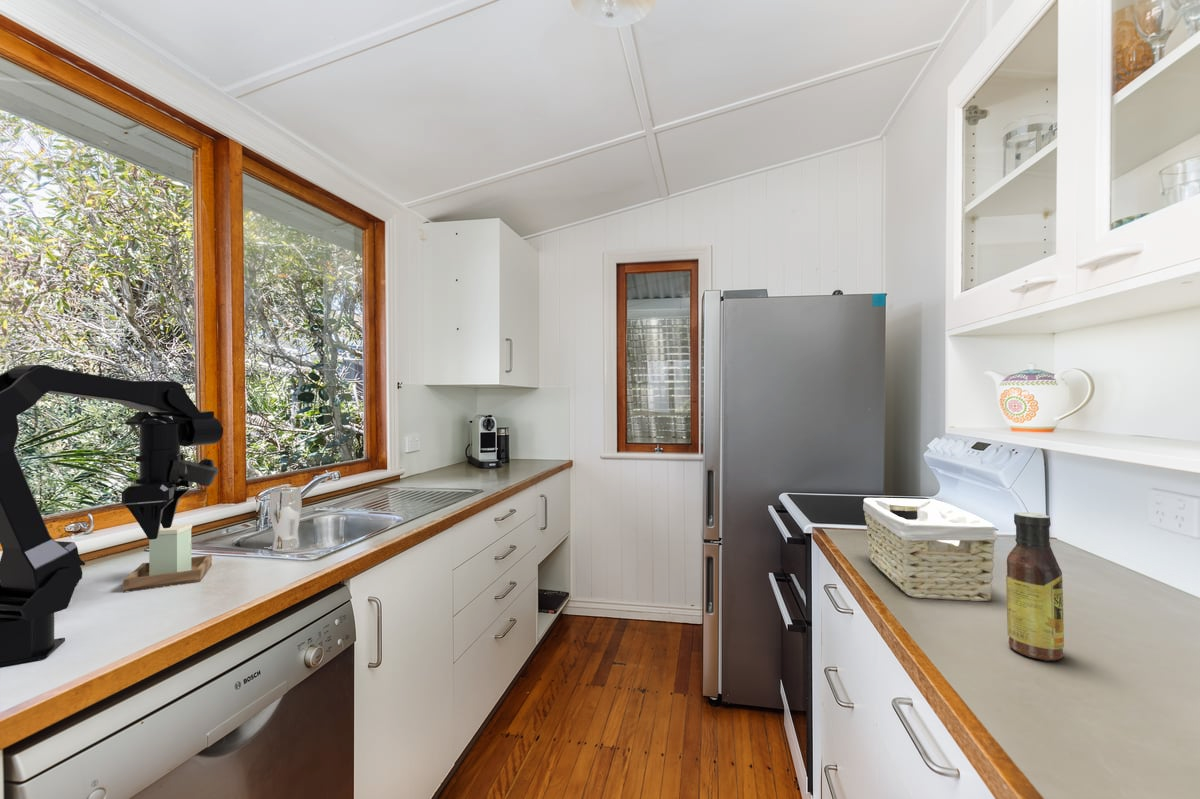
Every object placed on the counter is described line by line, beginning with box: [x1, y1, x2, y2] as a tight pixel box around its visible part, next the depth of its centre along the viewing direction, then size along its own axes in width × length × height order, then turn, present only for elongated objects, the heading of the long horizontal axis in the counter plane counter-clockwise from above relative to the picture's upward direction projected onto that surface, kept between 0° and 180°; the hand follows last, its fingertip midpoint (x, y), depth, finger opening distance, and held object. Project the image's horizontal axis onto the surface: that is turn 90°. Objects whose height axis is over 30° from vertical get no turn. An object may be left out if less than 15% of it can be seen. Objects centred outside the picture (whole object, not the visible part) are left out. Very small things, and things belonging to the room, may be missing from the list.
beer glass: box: [269, 486, 303, 552], centre depth 129 cm, size 7×7×15 cm
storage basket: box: [862, 497, 999, 602], centre depth 103 cm, size 24×16×15 cm
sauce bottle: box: [1005, 512, 1065, 661], centre depth 73 cm, size 7×6×20 cm
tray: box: [122, 554, 213, 593], centre depth 107 cm, size 12×12×2 cm
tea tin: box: [148, 523, 193, 576], centre depth 107 cm, size 5×5×10 cm
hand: (160, 533), depth 93 cm, fingers open, 9 cm apart
